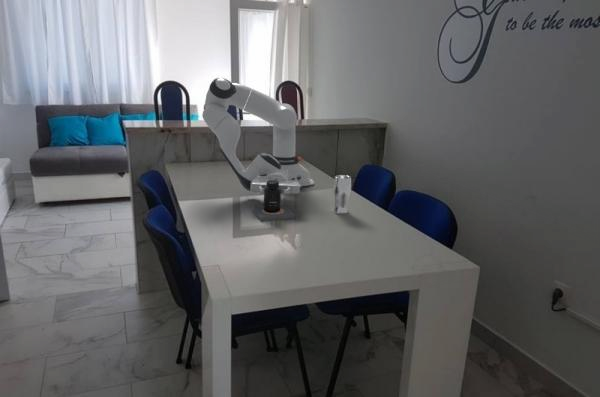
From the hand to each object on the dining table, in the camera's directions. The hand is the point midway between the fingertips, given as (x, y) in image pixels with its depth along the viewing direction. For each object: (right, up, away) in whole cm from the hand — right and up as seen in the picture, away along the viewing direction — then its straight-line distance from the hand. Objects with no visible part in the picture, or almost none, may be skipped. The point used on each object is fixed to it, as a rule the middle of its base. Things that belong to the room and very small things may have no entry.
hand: (273, 192), depth 186 cm
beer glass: (+27, -8, +9) cm, 30 cm away
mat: (0, -9, +3) cm, 9 cm away
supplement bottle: (-1, -8, +2) cm, 8 cm away
